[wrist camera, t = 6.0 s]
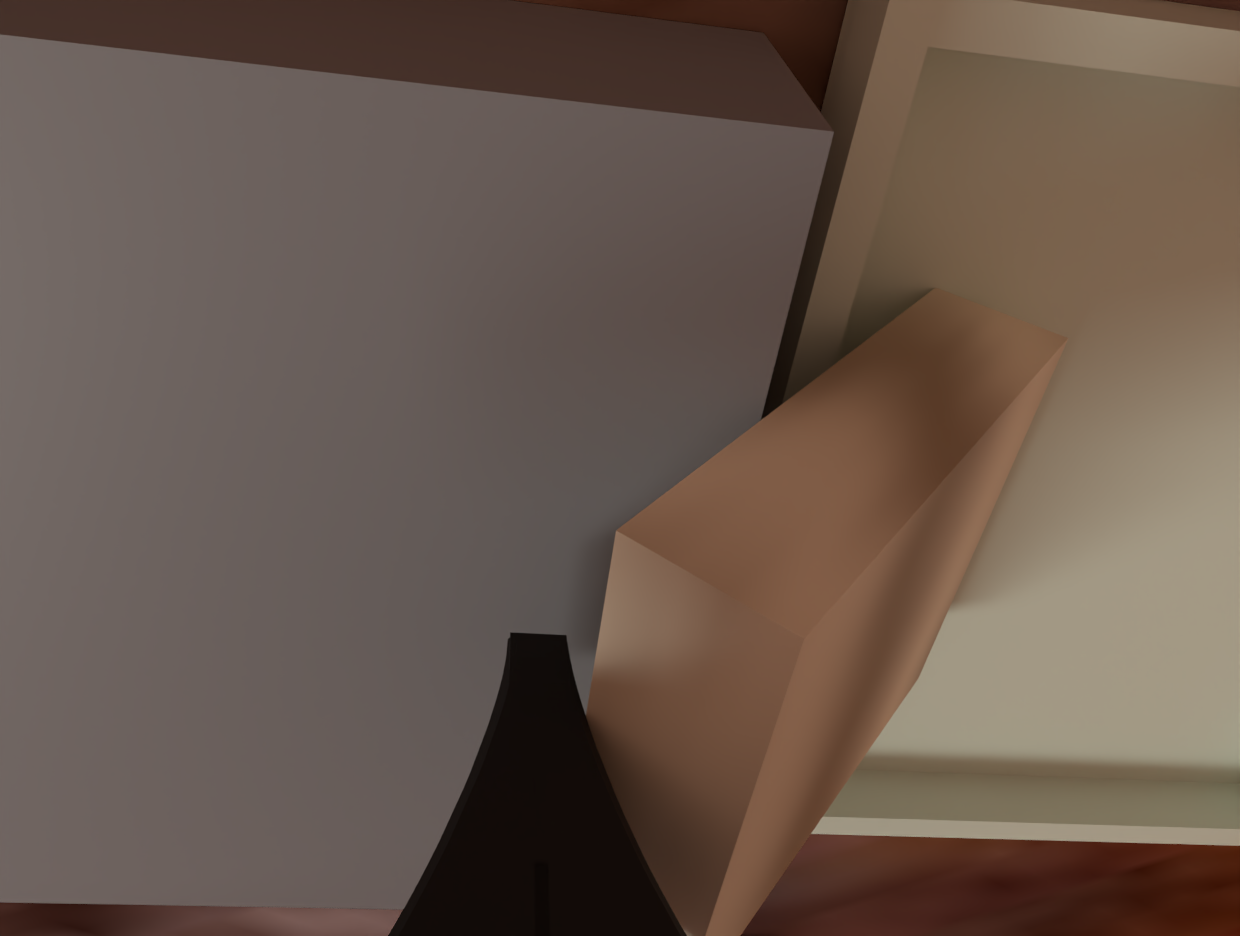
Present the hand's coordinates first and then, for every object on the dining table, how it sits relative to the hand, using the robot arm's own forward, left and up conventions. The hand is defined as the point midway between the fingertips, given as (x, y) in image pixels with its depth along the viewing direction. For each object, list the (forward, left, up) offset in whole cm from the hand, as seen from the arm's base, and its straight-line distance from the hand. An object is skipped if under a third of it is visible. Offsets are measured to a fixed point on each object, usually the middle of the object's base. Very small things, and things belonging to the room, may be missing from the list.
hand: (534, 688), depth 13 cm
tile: (-3, 0, -2) cm, 3 cm away
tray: (-10, 0, -5) cm, 12 cm away
